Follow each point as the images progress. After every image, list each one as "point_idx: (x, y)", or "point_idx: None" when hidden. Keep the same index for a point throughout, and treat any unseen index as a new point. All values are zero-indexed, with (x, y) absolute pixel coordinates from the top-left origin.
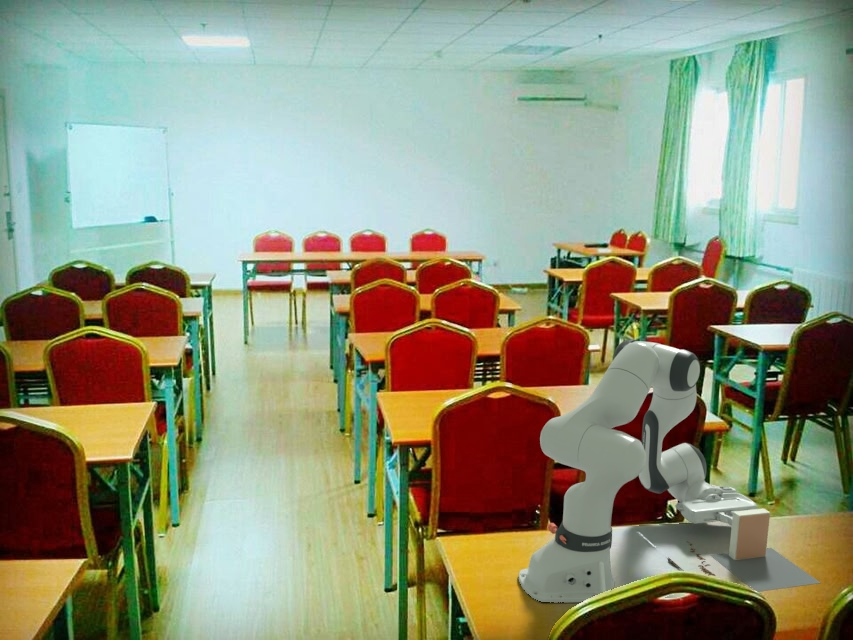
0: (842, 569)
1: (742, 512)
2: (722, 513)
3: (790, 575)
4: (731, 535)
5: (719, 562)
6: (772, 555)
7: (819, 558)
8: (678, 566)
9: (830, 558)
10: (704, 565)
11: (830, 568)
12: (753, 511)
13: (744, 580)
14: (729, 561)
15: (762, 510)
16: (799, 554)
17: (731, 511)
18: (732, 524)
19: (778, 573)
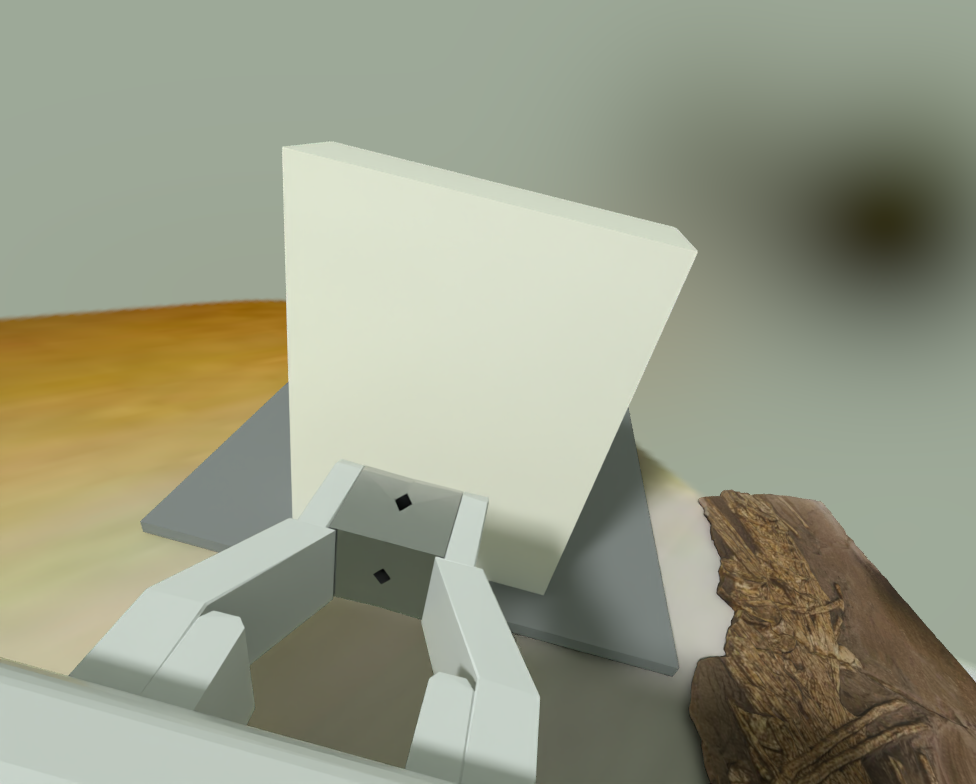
0: (141, 312)
1: (599, 218)
2: (482, 696)
3: None
4: (596, 469)
5: (658, 568)
6: (274, 467)
7: (71, 368)
8: (950, 664)
9: (27, 347)
10: (769, 587)
11: (170, 331)
12: (465, 184)
13: (621, 429)
14: (589, 545)
15: (357, 156)
16: (87, 424)
17: (202, 676)
18: (636, 380)
19: None
